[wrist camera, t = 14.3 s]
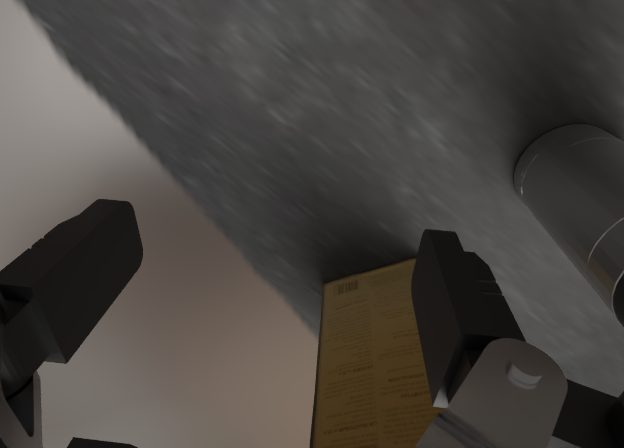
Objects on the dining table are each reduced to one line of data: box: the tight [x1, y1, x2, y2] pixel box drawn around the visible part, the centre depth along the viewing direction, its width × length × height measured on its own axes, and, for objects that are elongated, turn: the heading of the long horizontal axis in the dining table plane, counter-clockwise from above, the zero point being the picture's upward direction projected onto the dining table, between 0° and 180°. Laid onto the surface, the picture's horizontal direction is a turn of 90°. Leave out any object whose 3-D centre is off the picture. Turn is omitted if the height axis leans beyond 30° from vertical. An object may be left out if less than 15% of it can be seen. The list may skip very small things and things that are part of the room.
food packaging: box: [310, 257, 446, 448], centre depth 38 cm, size 13×9×25 cm
